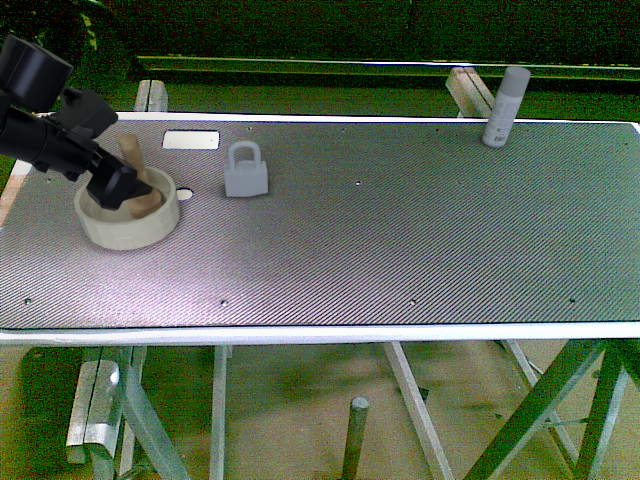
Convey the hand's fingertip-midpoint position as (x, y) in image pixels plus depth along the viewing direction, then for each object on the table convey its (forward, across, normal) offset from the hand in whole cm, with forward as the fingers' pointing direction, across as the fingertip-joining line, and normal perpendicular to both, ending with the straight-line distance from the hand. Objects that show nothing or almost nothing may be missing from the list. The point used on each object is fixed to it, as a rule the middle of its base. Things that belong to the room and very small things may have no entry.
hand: (134, 176), depth 71 cm
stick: (+6, 0, +5) cm, 7 cm away
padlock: (+17, -6, -6) cm, 19 cm away
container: (+50, -28, -40) cm, 70 cm away
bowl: (+4, 0, +7) cm, 8 cm away
